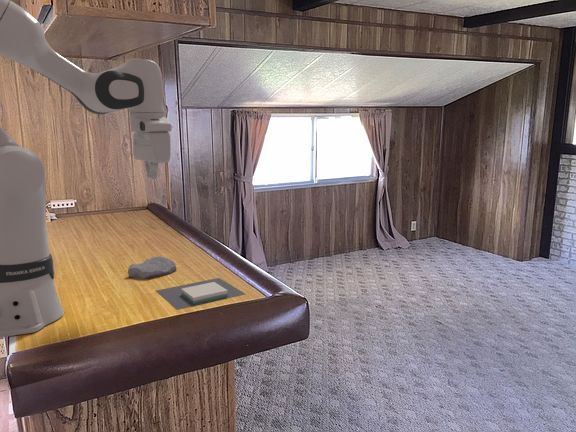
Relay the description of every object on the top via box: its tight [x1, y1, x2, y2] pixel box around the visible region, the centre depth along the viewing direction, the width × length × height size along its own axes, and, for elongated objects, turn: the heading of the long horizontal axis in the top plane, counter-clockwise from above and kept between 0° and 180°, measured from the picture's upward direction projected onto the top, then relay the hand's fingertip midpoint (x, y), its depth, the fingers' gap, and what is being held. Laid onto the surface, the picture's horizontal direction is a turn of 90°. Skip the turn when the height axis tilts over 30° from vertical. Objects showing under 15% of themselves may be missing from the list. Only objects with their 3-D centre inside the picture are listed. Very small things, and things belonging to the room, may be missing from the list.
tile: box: [181, 282, 228, 304], centre depth 118 cm, size 9×2×8 cm
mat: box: [155, 277, 246, 311], centre depth 121 cm, size 18×16×1 cm
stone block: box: [127, 256, 178, 280], centre depth 138 cm, size 12×5×10 cm
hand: (152, 178), depth 124 cm, fingers closed
